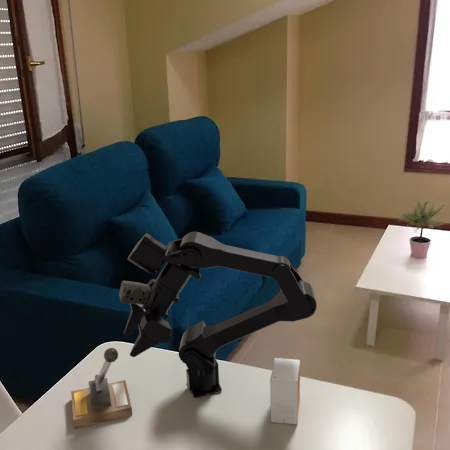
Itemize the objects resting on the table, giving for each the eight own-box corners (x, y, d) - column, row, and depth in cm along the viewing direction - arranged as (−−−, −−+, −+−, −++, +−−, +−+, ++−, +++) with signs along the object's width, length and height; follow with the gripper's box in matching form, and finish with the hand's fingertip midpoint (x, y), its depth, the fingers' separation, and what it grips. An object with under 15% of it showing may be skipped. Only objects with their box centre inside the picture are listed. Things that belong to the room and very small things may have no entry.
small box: (297, 425, 110) (298, 382, 106) (270, 422, 111) (269, 379, 107) (300, 400, 117) (300, 359, 114) (274, 398, 118) (274, 356, 115)
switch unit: (126, 387, 124) (123, 368, 122) (132, 414, 115) (130, 395, 113) (72, 398, 120) (69, 380, 119) (74, 428, 111) (71, 408, 110)
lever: (102, 380, 118) (119, 344, 117) (105, 394, 114) (121, 357, 112) (89, 377, 117) (105, 341, 116) (91, 391, 113) (108, 353, 111)
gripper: (129, 252, 119) (91, 310, 120) (144, 284, 102) (99, 352, 103) (171, 275, 123) (134, 331, 124) (191, 309, 106) (148, 374, 107)
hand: (128, 345), depth 115 cm, fingers open, 9 cm apart
